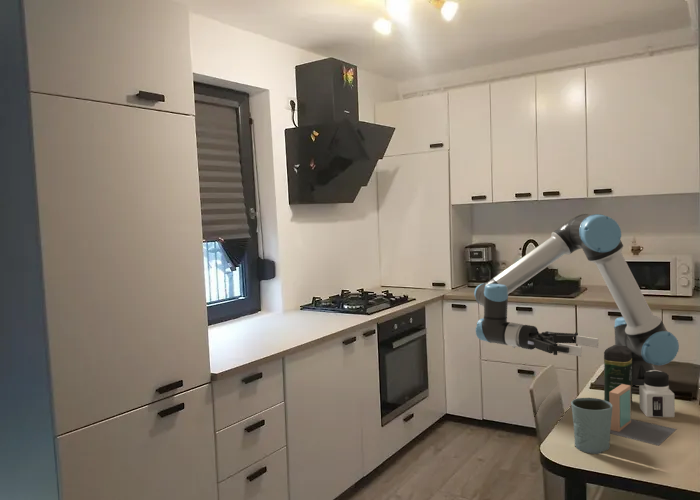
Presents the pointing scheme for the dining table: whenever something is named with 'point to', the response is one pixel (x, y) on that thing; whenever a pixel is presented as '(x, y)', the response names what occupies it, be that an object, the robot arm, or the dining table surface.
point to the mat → (645, 432)
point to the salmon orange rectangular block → (620, 407)
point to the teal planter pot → (592, 424)
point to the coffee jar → (617, 368)
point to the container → (656, 395)
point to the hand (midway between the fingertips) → (589, 347)
